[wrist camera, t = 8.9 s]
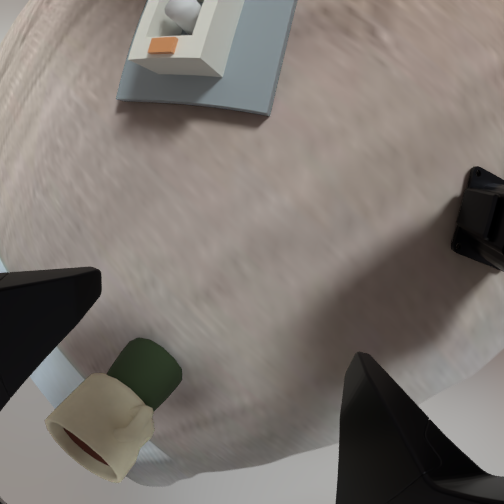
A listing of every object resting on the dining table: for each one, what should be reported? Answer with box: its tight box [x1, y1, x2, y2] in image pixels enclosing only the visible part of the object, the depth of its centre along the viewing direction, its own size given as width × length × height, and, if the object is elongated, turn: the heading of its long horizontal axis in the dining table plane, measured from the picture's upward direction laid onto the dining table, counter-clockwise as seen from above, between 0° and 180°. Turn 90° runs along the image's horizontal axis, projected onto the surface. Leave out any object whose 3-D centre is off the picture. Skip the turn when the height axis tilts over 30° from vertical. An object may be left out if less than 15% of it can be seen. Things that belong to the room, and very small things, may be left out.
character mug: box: [45, 338, 182, 483], centre depth 20 cm, size 11×7×13 cm, turn 122°
